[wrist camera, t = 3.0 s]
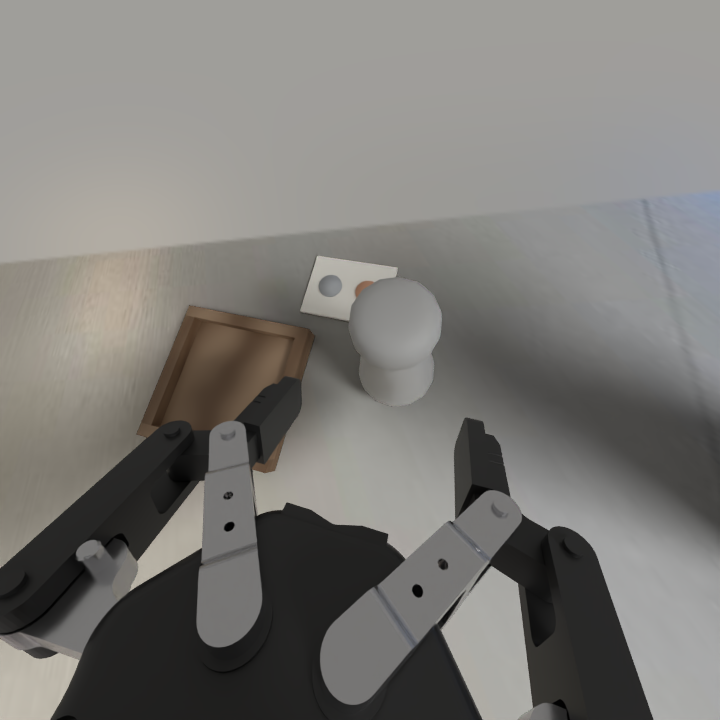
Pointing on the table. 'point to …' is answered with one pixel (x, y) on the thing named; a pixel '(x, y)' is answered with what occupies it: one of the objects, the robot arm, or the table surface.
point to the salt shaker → (395, 339)
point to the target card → (340, 285)
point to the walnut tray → (224, 370)
